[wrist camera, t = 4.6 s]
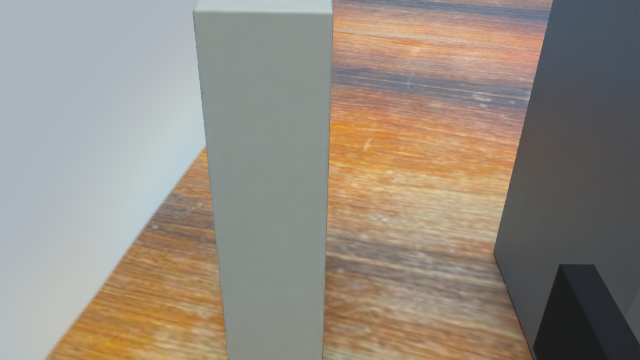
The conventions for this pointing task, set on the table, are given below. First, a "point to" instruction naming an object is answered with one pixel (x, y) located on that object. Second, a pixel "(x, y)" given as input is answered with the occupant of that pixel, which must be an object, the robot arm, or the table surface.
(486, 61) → the table surface
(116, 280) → the table surface
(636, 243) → the grey books
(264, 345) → the white book
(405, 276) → the table surface
